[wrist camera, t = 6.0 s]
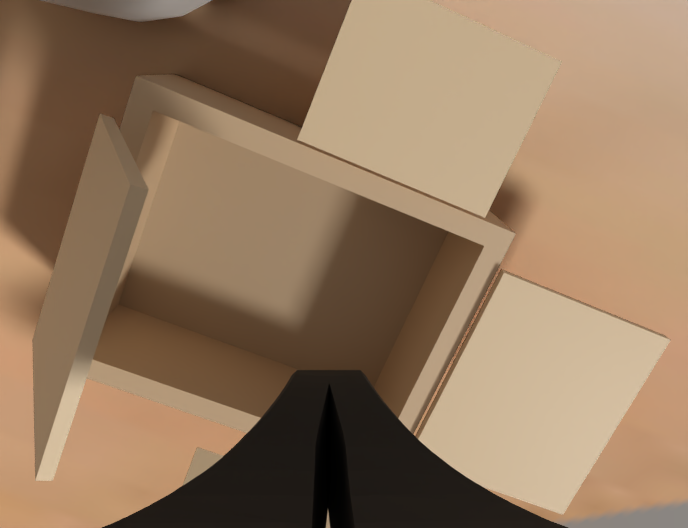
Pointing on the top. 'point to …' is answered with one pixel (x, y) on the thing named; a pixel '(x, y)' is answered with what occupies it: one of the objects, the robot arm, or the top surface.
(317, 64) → the top surface
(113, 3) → the can
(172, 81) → the carton
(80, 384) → the long flap
